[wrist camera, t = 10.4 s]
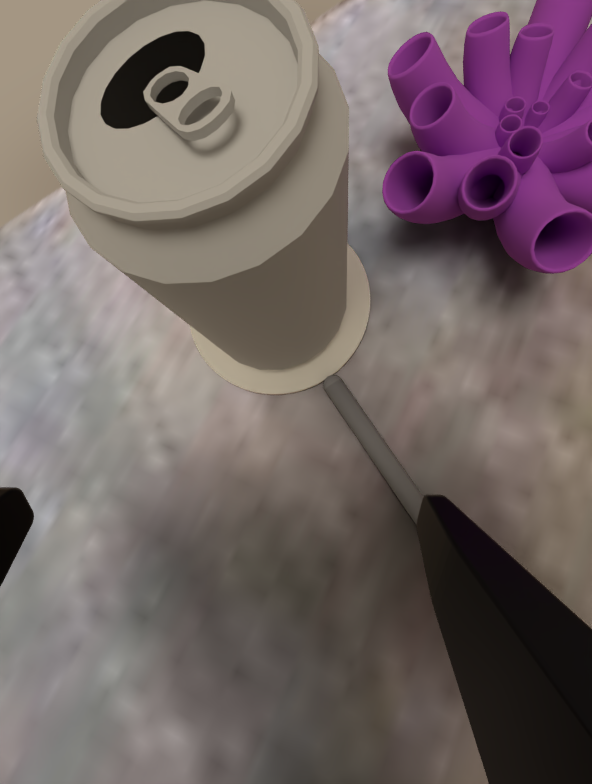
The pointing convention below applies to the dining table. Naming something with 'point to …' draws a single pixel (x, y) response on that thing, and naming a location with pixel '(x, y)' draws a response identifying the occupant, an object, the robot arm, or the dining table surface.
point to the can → (209, 165)
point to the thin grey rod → (374, 445)
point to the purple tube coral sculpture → (503, 133)
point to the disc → (315, 367)
